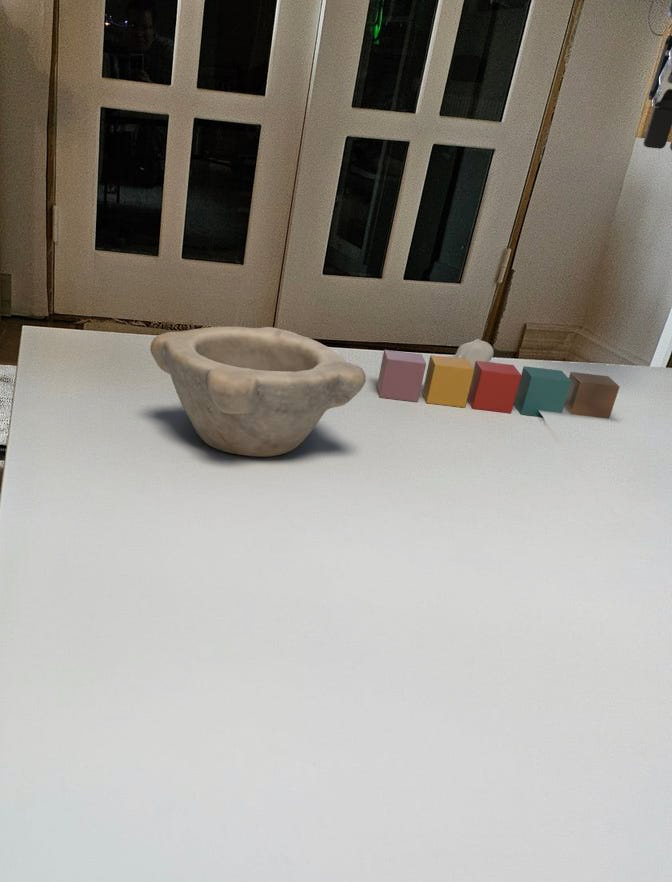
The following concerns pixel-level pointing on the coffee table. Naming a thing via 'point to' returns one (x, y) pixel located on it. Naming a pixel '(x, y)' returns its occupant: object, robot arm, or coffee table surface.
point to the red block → (493, 386)
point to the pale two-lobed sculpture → (475, 351)
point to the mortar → (255, 385)
